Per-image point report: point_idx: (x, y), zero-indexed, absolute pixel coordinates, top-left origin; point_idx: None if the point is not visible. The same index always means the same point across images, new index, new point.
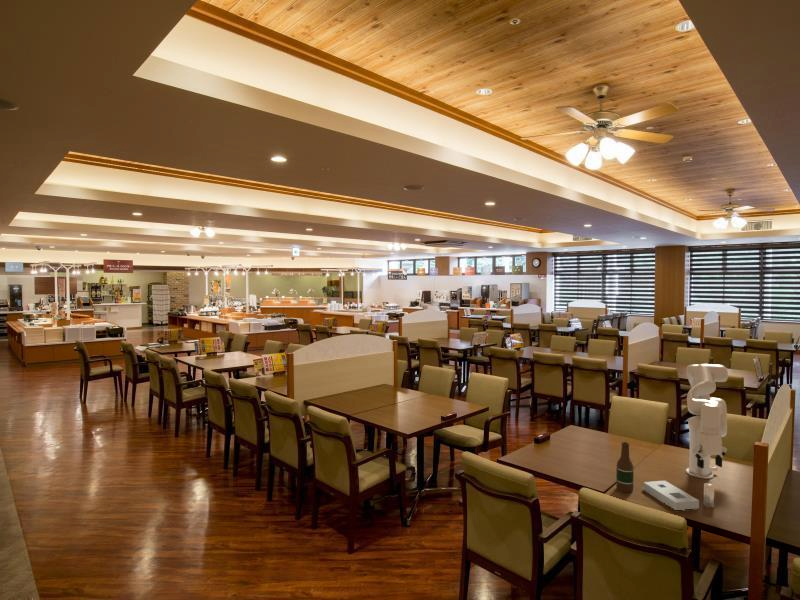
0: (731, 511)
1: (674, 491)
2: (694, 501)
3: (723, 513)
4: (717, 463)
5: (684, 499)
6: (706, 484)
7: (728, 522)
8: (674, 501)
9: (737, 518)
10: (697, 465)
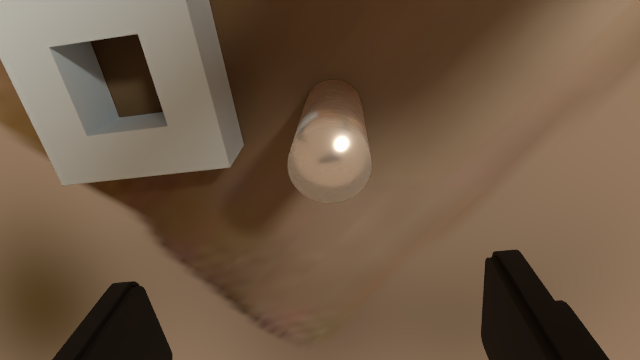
0: (418, 181)
1: (110, 12)
2: (196, 169)
3: (353, 198)
4: (500, 320)
5: (135, 149)
6: (308, 158)
7: (310, 274)
8: (57, 172)
9: (387, 246)
10: (113, 290)
